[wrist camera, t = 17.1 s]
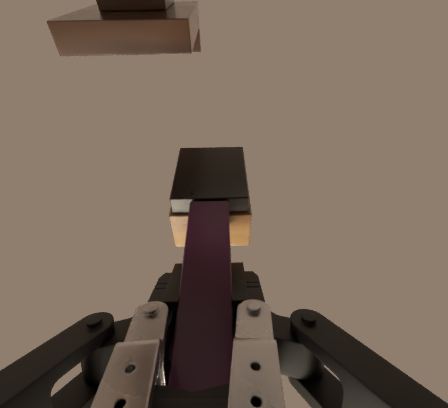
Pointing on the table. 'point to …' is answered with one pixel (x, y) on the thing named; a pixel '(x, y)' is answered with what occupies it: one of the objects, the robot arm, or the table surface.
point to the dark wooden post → (128, 28)
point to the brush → (207, 261)
